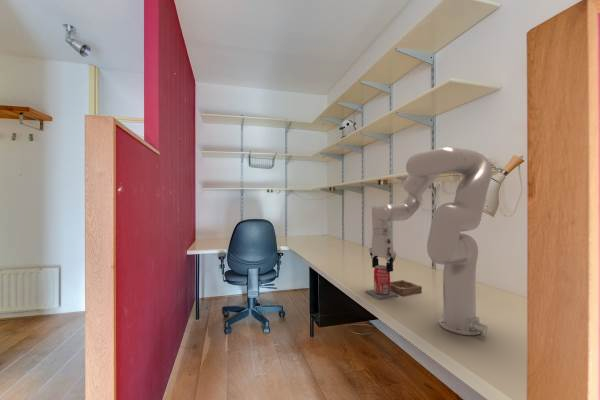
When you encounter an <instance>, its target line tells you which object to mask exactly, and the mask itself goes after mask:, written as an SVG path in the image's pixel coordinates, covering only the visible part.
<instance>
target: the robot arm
mask: <svg viewBox="0 0 600 400" xmlns="http://www.w3.org/2000/svg"><path fill="white" fill-rule="evenodd" d="M405 170H406V173H407V174H408V176H407V178H406V179H405V180H404V181H403V183H402V188H403V189H404V191H405V192H406V193H407V194H408V195H407V196H406V198H405V199H404V200H403V202H402V203H387V204H376V205H373V206H372V207H371V222H372V223H371V224H372V225H371V226H372V235H371V247H369V249H368V252H369V255H370V257H371V265H372V266H371V268H373V269H375V266H377V265H379V258H383V259H385V260H386V265H385V266H386V270H387V272H390V273H391V272H394V262H395V261H396V257H397V253H396V252H395V251H394V246H393V238H392V235H391V234H390V233H391V231H390V222H396V221H397V222H398V221H401V222H402V221H407V220H408V219H410V218H412V216H413V215H414V214H415V213H416V212H417V211H418V209H419V208H420V206H421V204H422V199H423V198H422V196H423V195H424V193H426V192H427V190H428V189H429V187H430V186H432V184H433V183H434V182H435V181H436V180H437V179H438V177H439V176H440V175H442V174H443V175H444V174H445V175H448V174H449V175H461V176H462V178H461V180H460V182H459V183H458V185H457V187H456V189H455V190H456V191H455V195H454V199H453V201H452V202H445V203H443V204H440V205H439V206H438V207H437V208H436V210H435V211H434V213H433V215H432V219H431V224H430V229H429V233H428V237H427V238H428V239H427V242H426V251H427V254H428V256H429V258H430V259H431V261H432V262H434V263H436V264H438V265H443V269H442V293H443V295H442V300H443V303H442V304H443V305H442V309H443V310H442V311H443V316H440V317H439V318H438V325H439V326H440V327H441V328H443V329H445V330H447V331H449V332H451V333H454V334H458V335H462V336H478V335H480V334H483V335H486V334H487V332H488V325H486V324H485V323H481V322H480V317H479V316H477V299H476V298H477V297H476V296H477V295H476V293H477V291H476V289H477V288H476V283H477V282H476V278H477V277H476V275H477V274H476V272H477V271H476V270H477V262H478V259H479V258H478V257H479V246H478V244H477V241H476V239H474V238H473V237H472V236H470V234H467V233H462V232H469V231H474V230H475V229H478V227H479V225H480V224H481V220H482V217H483V212H484V208H485V203H486V201H487V200H486V199H487V194H488V191H489V187H490V183H491V180H492V175H493V168H492V164H491V162H490V161H489V159H488V158H487V157H486V156H485V155H483V154H482V153H480V152H478V151H476V150H472V149H468V148H467V149H466V148H459V147H452V146H450V147H449V146H448V147H446V146H445V147H439V148H434V149H429V150H425V151H421V152H417V153H415V154H412V155H411V156H410V157H409V158H408V159H407V162H406V163H405Z"/></svg>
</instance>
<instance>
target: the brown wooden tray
mask: <svg viewBox="0 0 600 400" xmlns="http://www.w3.org/2000/svg"><path fill="white" fill-rule="evenodd" d="M390 291H391V292H393V293H396V294H398V296H401V297H406V296H412V295H417V294H422V291H423V289H422V285H418V284H416V283H413V282H410V281H407V280H404V279H402V280H397V281H394V280H393V281H390Z"/></svg>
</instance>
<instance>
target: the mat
mask: <svg viewBox="0 0 600 400" xmlns="http://www.w3.org/2000/svg"><path fill="white" fill-rule="evenodd" d="M365 294H367V295H369V296H372V297H373V298H375V299H377V300H379V301H381V300H387V299H392V298H397V297H398V296H399V295H398V294H396V293H394V292H391V291H390V292H389V293H388V294H386V295H381V294H377V293H376V292H375V291H374V288H373V289H368V290H365Z"/></svg>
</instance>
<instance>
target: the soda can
mask: <svg viewBox="0 0 600 400" xmlns="http://www.w3.org/2000/svg"><path fill="white" fill-rule="evenodd" d="M390 282H391V272H387V270H386V265H383V264H380V265H377V266H375V268H373V289H374V291H375V292H376V293H377V294H381V295H386V294H388V293H389V292H390Z"/></svg>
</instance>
